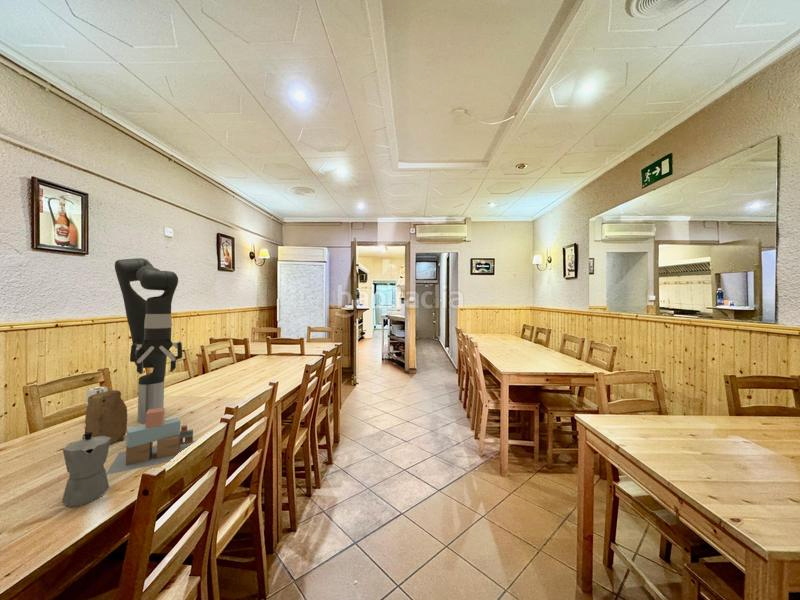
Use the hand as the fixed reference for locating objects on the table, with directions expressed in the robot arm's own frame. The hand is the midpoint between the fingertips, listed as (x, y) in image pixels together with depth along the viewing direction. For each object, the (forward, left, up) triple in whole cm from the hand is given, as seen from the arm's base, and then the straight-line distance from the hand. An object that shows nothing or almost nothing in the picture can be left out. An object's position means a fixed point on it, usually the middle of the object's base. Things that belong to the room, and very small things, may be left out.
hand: (156, 372), depth 105 cm
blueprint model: (-6, +8, -30) cm, 31 cm away
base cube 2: (0, +4, -30) cm, 30 cm away
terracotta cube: (0, 0, -18) cm, 19 cm away
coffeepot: (+16, -13, -30) cm, 37 cm away
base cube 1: (0, -4, -30) cm, 30 cm away
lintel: (0, 0, -24) cm, 24 cm away
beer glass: (-51, -27, -30) cm, 65 cm away
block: (-21, -17, -30) cm, 41 cm away
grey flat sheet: (-1, 0, -30) cm, 30 cm away
